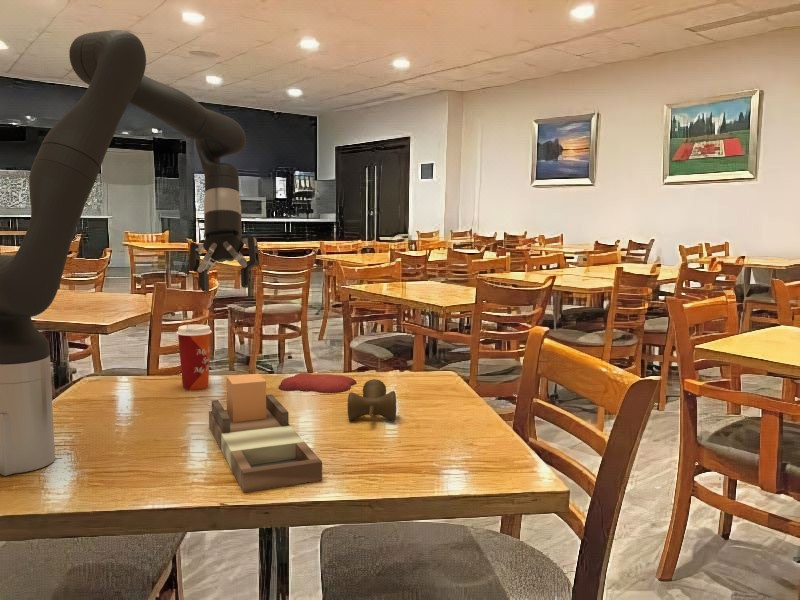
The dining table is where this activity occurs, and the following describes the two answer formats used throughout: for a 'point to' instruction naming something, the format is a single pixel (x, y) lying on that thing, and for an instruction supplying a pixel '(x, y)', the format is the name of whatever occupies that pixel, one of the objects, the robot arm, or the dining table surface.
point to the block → (246, 397)
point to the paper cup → (194, 355)
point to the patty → (317, 383)
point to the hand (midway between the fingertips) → (225, 289)
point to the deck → (264, 449)
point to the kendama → (372, 402)
